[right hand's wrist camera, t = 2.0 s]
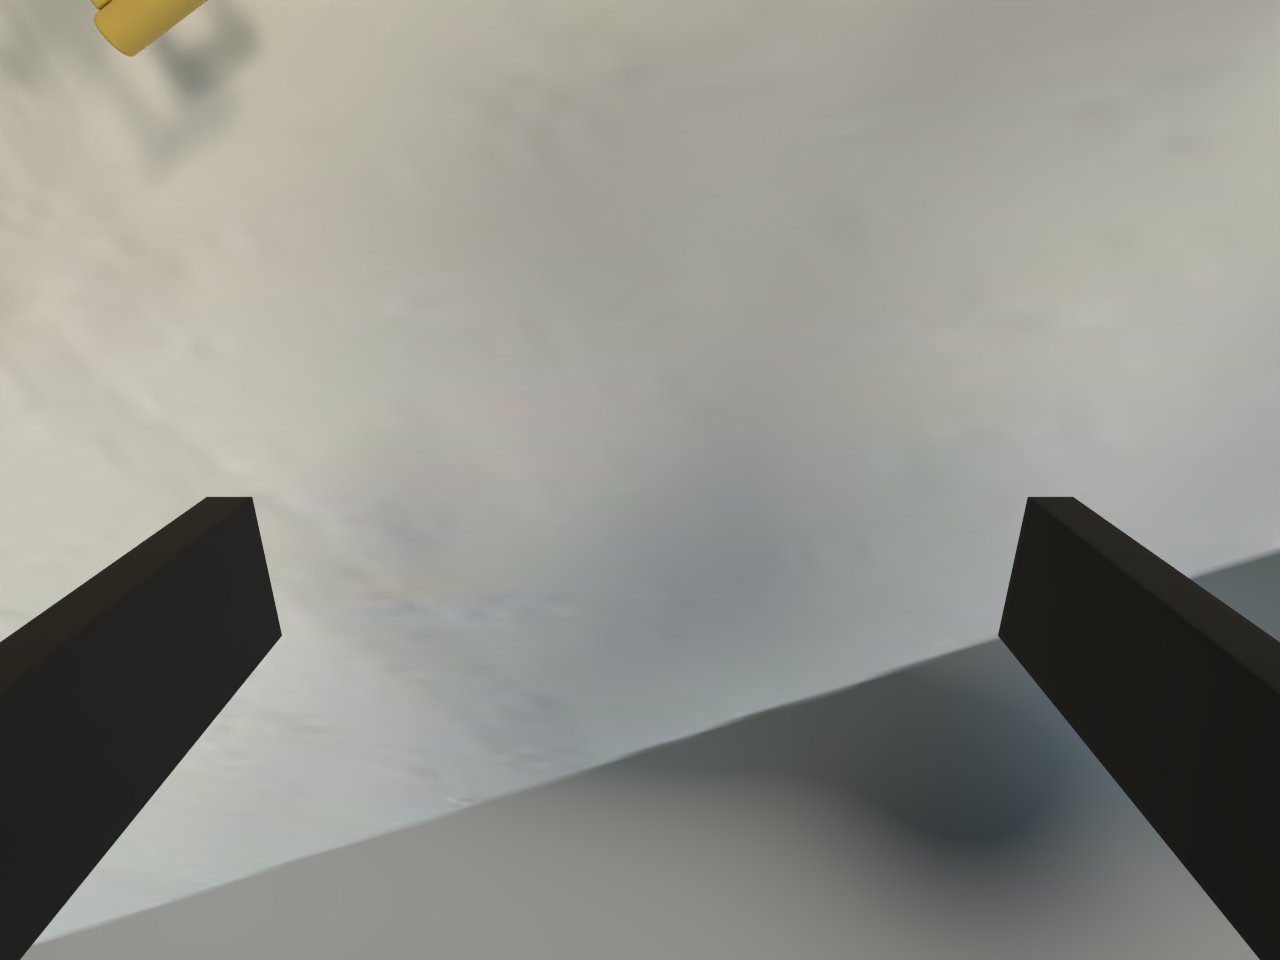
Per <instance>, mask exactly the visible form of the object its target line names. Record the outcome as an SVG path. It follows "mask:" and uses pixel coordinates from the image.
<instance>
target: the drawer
mask: <svg viewBox="0 0 1280 960" xmlns="http://www.w3.org/2000/svg"><path fill="white" fill-rule="evenodd" d="M91 1H92V2H93V4H94V5H95V7H96V8H97V9H99V10H100V11H99V12H97V13H96V14H95V15H94V22H95V24H96V26H97V28H98V29H99V31H100V32H101V34H102V35H103V36H104V37H105V38H106V40H107V41H108V42H109V43H110V44H111V45H112V46H114V47H115V48H116V49H117V50H118V51H120V52H121V53H123V54H125V55H127V56H135V55H136V54H137V53H139V52H140V51H141V50H143V49H144V48H145V47H147V46H148V45H149V44H151V43H152V42H153V41H155V40H156V39H157V38H159V37H160V36H161V35H162V34H164V33H165V32H166V31H168V30H169V29H170V28H172V27H173V26H174V25H176V24H177V23H178V22H180V21H181V20H182V19H183V18H185V17H186V16H187V15H189V14H190V13H191V12H193V11H194V10H195V9H197V8H198V7H199V6H201V5H202V4H203V3H204V2H206V1H207V0H91Z"/></svg>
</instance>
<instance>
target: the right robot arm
mask: <svg viewBox="0 0 1280 960" xmlns="http://www.w3.org/2000/svg"><path fill="white" fill-rule="evenodd" d="M281 636H282V634H281V629H280V624H279V620H278V615H277V610H276V606H275V601H274V596H273V592H272V587H271V582H270V578H269V573H268V568H267V564H266V559H265V555H264V550H263V545H262V541H261V536H260V531H259V527H258V522H257V517H256V513H255V508H254V503H253V499H252V497H206V498H205V499H203V500H202V501H201V502H199V503H198V504H196V505H195V506H193V507H192V508H191V509H189V510H188V511H186V512H185V513H183V514H182V515H181V516H179V517H178V518H176V519H175V520H174V521H172V522H171V523H169V524H168V525H166V526H165V527H164V528H162V529H161V530H159V531H158V532H156V533H155V534H154V535H152V536H151V537H149V538H148V539H146V540H145V541H144V542H142V543H141V544H139V545H138V546H137V547H135V548H134V549H132V550H131V551H129V552H128V553H127V554H125V555H124V556H122V557H121V558H119V559H118V560H117V561H115V562H114V563H112V564H111V565H110V566H108V567H107V568H105V569H104V570H102V571H101V572H100V573H98V574H97V575H95V576H94V577H92V578H91V579H90V580H88V581H87V582H85V583H84V584H82V585H81V586H80V587H78V588H77V589H75V590H74V591H73V592H71V593H70V594H68V595H67V596H65V597H64V598H63V599H61V600H60V601H58V602H57V603H55V604H54V605H53V606H51V607H50V608H48V609H47V610H46V611H44V612H43V613H41V614H40V615H38V616H37V617H36V618H34V619H33V620H31V621H30V622H28V623H27V624H26V625H24V626H23V627H21V628H20V629H18V630H17V631H16V632H14V633H13V634H11V635H10V636H9V637H7V638H6V639H4V640H3V641H1V642H0V960H20V959H21V958H22V956H23V955H24V954H25V953H26V952H27V950H28V949H29V948H30V947H31V945H32V944H33V943H34V942H35V940H36V939H37V938H38V937H39V935H40V934H41V933H42V932H43V930H44V929H45V928H46V927H47V926H48V924H49V923H50V922H51V921H52V919H53V918H54V917H55V916H56V914H57V913H58V912H59V911H60V909H61V908H62V907H63V906H64V905H65V903H66V902H67V901H68V900H69V898H70V897H71V896H72V895H73V893H74V892H75V891H76V890H77V888H78V887H79V886H80V885H81V883H82V882H83V881H84V880H85V879H86V877H87V876H88V875H89V874H90V872H91V871H92V870H93V869H94V867H95V866H96V865H97V864H98V862H99V861H100V860H101V859H102V857H103V856H104V855H105V854H106V853H107V851H108V850H109V849H110V848H111V846H112V845H113V844H114V843H115V841H116V840H117V839H118V838H119V836H120V835H121V834H122V833H123V832H124V830H125V829H126V828H127V827H128V825H129V824H130V823H131V822H132V820H133V819H134V818H135V817H136V815H137V814H138V813H139V812H140V810H141V809H142V808H143V807H144V806H145V804H146V803H147V802H148V801H149V799H150V798H151V797H152V796H153V794H154V793H155V792H156V791H157V789H158V788H159V787H160V786H161V784H162V783H163V782H164V781H165V780H166V778H167V777H168V776H169V775H170V773H171V772H172V771H173V770H174V768H175V767H176V766H177V765H178V763H179V762H180V761H181V760H182V759H183V757H184V756H185V755H186V754H187V752H188V751H189V750H190V749H191V747H192V746H193V745H194V744H195V742H196V741H197V740H198V739H199V737H200V736H201V735H202V734H203V733H204V731H205V730H206V729H207V728H208V726H209V725H210V724H211V723H212V721H213V720H214V719H215V718H216V716H217V715H218V714H219V713H220V712H221V710H222V709H223V708H224V707H225V705H226V704H227V703H228V702H229V700H230V699H231V698H232V697H233V695H234V694H235V693H236V692H237V690H238V689H239V688H240V687H241V686H242V684H243V683H244V682H245V681H246V679H247V678H248V677H249V676H250V674H251V673H252V672H253V671H254V669H255V668H256V667H257V666H258V664H259V663H260V662H261V661H262V660H263V658H264V657H265V656H266V655H267V653H268V652H269V651H270V650H271V648H272V647H273V646H274V645H275V643H276V642H277V641H278V640H279V639H280V637H281ZM998 636H999V637H1000V639H1001V640H1002V641H1003V642H1004V643H1005V645H1006V646H1007V647H1008V648H1009V650H1010V651H1011V652H1012V653H1013V655H1014V656H1015V657H1016V658H1017V660H1018V661H1019V662H1020V663H1021V664H1022V666H1023V667H1024V668H1025V669H1026V671H1027V672H1028V673H1029V674H1030V676H1031V677H1032V678H1033V679H1034V681H1035V682H1036V683H1037V684H1038V686H1039V687H1040V688H1041V689H1042V690H1043V692H1044V693H1045V694H1046V695H1047V697H1048V698H1049V699H1050V700H1051V702H1052V703H1053V704H1054V705H1055V707H1056V708H1057V709H1058V710H1059V711H1060V713H1061V714H1062V715H1063V716H1064V718H1065V719H1066V720H1067V721H1068V723H1069V724H1070V725H1071V726H1072V728H1073V729H1074V730H1075V731H1076V732H1077V734H1078V735H1079V736H1080V737H1081V739H1082V740H1083V741H1084V742H1085V744H1086V745H1087V746H1088V747H1089V749H1090V750H1091V751H1092V752H1093V754H1094V755H1095V756H1096V757H1097V759H1098V760H1099V761H1100V762H1101V763H1102V765H1103V766H1104V767H1105V768H1106V770H1107V771H1108V772H1109V773H1110V775H1111V776H1112V777H1113V778H1114V780H1115V781H1116V782H1117V783H1118V785H1119V786H1120V787H1121V788H1122V789H1123V791H1124V792H1125V793H1126V794H1127V796H1128V797H1129V798H1130V799H1131V801H1132V802H1133V803H1134V804H1135V806H1136V807H1137V808H1138V809H1139V810H1140V812H1141V813H1142V814H1143V815H1144V817H1145V818H1146V819H1147V820H1148V822H1149V823H1150V824H1151V825H1152V827H1153V828H1154V829H1155V830H1156V832H1157V833H1158V834H1159V835H1160V836H1161V838H1162V839H1163V840H1164V841H1165V843H1166V844H1167V845H1168V846H1169V848H1170V849H1171V850H1172V851H1173V852H1174V854H1175V855H1176V856H1177V857H1178V859H1179V860H1180V861H1181V862H1182V864H1183V865H1184V866H1185V867H1186V869H1187V870H1188V871H1189V872H1190V874H1191V875H1192V876H1193V877H1194V879H1195V880H1196V881H1197V882H1198V883H1199V885H1200V886H1201V887H1202V888H1203V890H1204V891H1205V892H1206V893H1207V895H1208V896H1209V897H1210V898H1211V899H1212V901H1213V902H1214V903H1215V905H1216V906H1217V907H1218V908H1219V909H1220V911H1221V912H1222V913H1223V914H1224V916H1225V917H1226V918H1227V919H1228V921H1229V922H1230V923H1231V924H1232V926H1233V927H1234V928H1235V929H1236V930H1237V932H1238V933H1239V934H1240V935H1241V937H1242V938H1243V939H1244V940H1245V942H1246V943H1247V944H1248V945H1249V947H1250V948H1251V949H1252V950H1253V952H1254V953H1255V954H1256V955H1257V956H1258V958H1259V959H1260V960H1280V642H1279V641H1277V640H1276V639H1274V638H1273V637H1271V636H1270V635H1269V634H1267V633H1266V632H1264V631H1263V630H1261V629H1260V628H1259V627H1257V626H1256V625H1254V624H1253V623H1252V622H1250V621H1249V620H1247V619H1246V618H1244V617H1243V616H1242V615H1240V614H1239V613H1237V612H1236V611H1234V610H1233V609H1232V608H1230V607H1229V606H1227V605H1226V604H1225V603H1223V602H1222V601H1220V600H1219V599H1217V598H1216V597H1215V596H1213V595H1212V594H1210V593H1209V592H1207V591H1206V590H1205V589H1203V588H1202V587H1200V586H1199V585H1198V584H1196V583H1195V582H1193V581H1192V580H1190V579H1189V578H1188V577H1186V576H1185V575H1183V574H1182V573H1180V572H1179V571H1178V570H1176V569H1175V568H1173V567H1172V566H1170V565H1169V564H1168V563H1166V562H1165V561H1163V560H1162V559H1161V558H1159V557H1158V556H1156V555H1155V554H1153V553H1152V552H1151V551H1149V550H1148V549H1146V548H1145V547H1143V546H1142V545H1141V544H1139V543H1138V542H1136V541H1135V540H1134V539H1132V538H1131V537H1129V536H1128V535H1126V534H1125V533H1124V532H1122V531H1121V530H1119V529H1118V528H1116V527H1115V526H1114V525H1112V524H1111V523H1109V522H1108V521H1106V520H1105V519H1104V518H1102V517H1101V516H1099V515H1098V514H1097V513H1095V512H1094V511H1092V510H1091V509H1089V508H1088V507H1087V506H1085V505H1084V504H1082V503H1081V502H1079V501H1078V500H1077V499H1075V498H1074V497H1028V499H1027V503H1026V508H1025V513H1024V517H1023V522H1022V527H1021V531H1020V536H1019V541H1018V545H1017V550H1016V554H1015V559H1014V564H1013V568H1012V573H1011V578H1010V582H1009V587H1008V592H1007V596H1006V601H1005V606H1004V610H1003V615H1002V620H1001V624H1000V629H999V634H998Z"/></svg>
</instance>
